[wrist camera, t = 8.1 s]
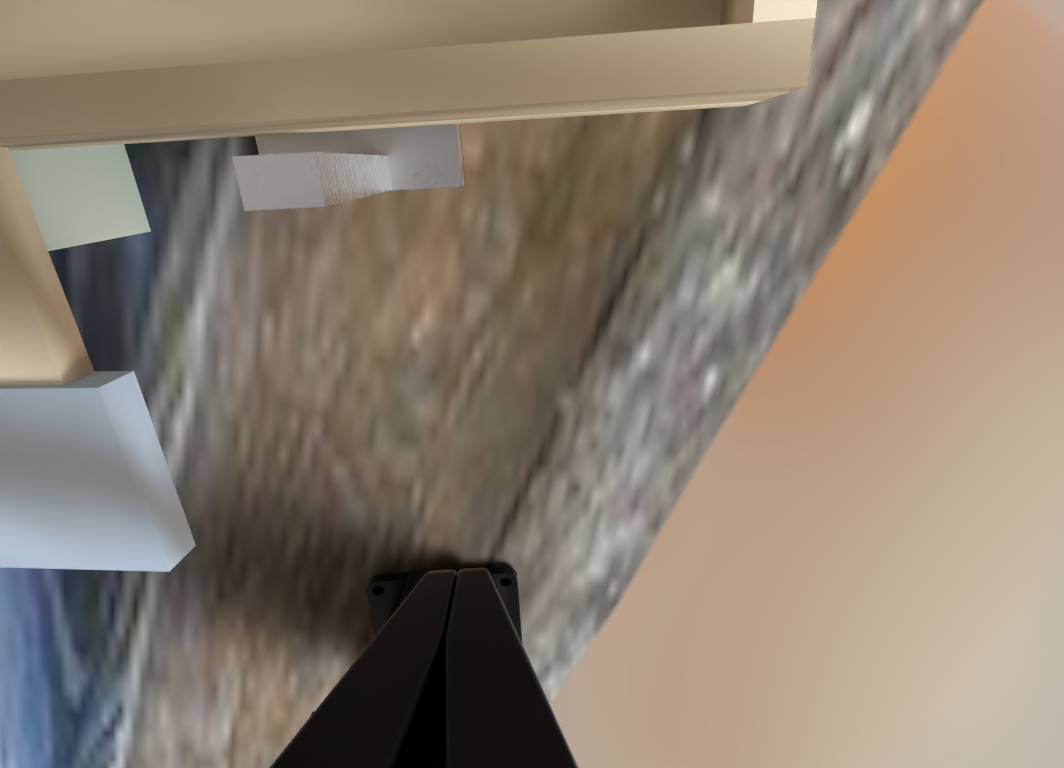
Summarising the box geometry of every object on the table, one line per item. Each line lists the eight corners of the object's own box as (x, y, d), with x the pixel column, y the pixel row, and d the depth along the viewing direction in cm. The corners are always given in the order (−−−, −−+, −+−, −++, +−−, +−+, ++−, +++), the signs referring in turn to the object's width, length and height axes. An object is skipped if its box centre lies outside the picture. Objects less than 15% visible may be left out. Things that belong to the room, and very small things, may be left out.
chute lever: (686, 468, 17) (738, 621, 11) (124, 466, 19) (-70, 595, 13) (742, -322, 10) (932, -898, 5) (-136, -199, 12) (-743, -499, 7)
